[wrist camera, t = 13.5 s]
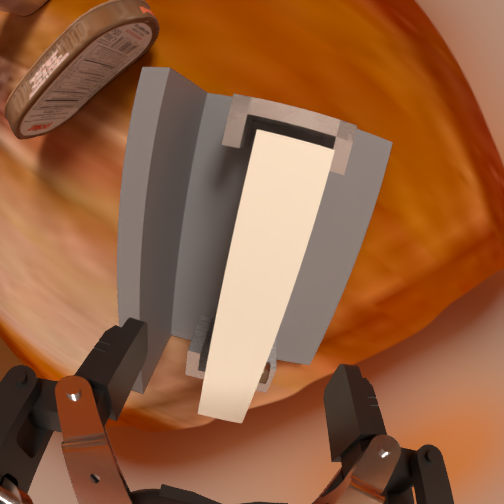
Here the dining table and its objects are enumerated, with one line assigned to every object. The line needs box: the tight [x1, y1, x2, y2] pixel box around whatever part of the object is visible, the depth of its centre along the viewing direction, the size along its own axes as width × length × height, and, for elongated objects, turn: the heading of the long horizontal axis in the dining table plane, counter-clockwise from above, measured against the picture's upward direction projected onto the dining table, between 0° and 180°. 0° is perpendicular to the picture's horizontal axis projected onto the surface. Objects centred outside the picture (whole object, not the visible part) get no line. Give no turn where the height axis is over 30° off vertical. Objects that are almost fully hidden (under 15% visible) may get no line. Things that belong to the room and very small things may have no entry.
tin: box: [5, 0, 159, 139], centre depth 15 cm, size 15×3×8 cm, turn 119°
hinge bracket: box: [117, 67, 393, 394], centre depth 19 cm, size 16×22×10 cm
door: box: [198, 129, 335, 423], centre depth 18 cm, size 4×17×10 cm, turn 167°
